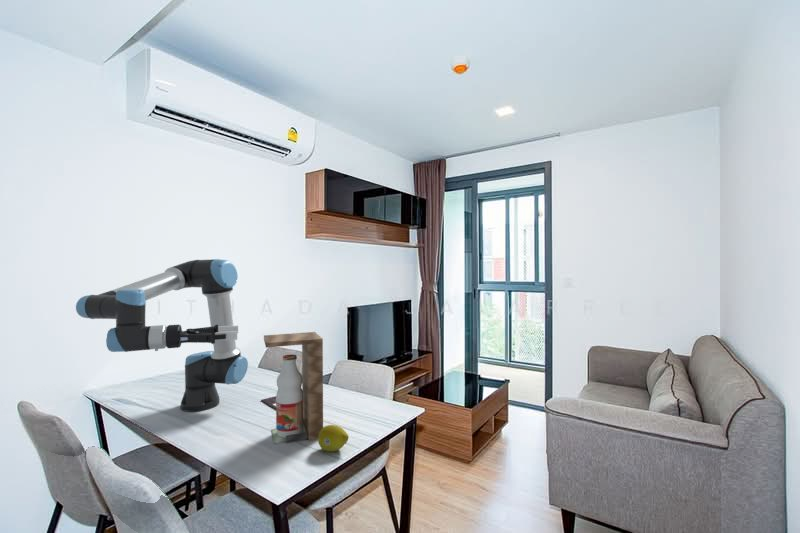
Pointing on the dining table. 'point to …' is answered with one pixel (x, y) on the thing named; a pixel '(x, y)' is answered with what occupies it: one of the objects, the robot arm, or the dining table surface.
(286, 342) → the shelf
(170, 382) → the dining table surface
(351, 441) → the dining table surface
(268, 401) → the chocolate bar
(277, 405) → the fruit juice
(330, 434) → the lemon
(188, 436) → the dining table surface
